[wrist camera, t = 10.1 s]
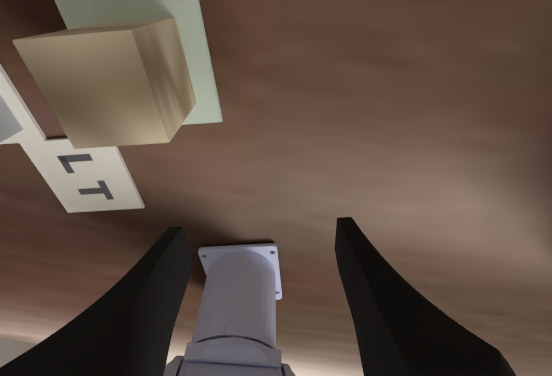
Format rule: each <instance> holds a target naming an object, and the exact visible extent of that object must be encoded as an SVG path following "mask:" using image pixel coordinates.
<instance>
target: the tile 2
mask: <svg viewBox="0 0 552 376" xmlns="http://www.w3.org/2000/svg"><path fill="white" fill-rule="evenodd" d="M20 145H21V146H22V148H23V149H24V151H25V152H26V153H27V155H28V156H29V158H30V159H31V161H32V162H33V163H34V165H35V166H36V168H37V169H38V171H39V172H40V173H41V175H42V176H43V178H44V179H45V181H46V182H47V183H48V185H49V186H50V188H51V189H52V191H53V192H54V193H55V195H56V196H57V198H58V199H59V201H60V202H61V203H62V205H63V206H64V208H65V209H66V211H67V212H68V213H73V212H89V211H106V210H123V209H139V208H144V207H145V205H144V203H143V200H142V198H141V196H140V194H139V192H138V190H137V188H136V185H135V183H134V181H133V179H132V177H131V175H130V173H129V170H128V168H127V166H126V164H125V162H124V160H123V158H122V155H121V153H120V151H119V149H118V147H117V146H112V147H98V148H84V149H74V147H73V146H72V144H71V142H70V141H69V139H68V138H58V139H47V140H46V141H38V142H24V143H20Z"/></svg>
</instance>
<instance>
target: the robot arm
mask: <svg viewBox="0 0 552 376" xmlns="http://www.w3.org/2000/svg"><path fill="white" fill-rule="evenodd" d="M335 253H336V259H337V264H338V269H339V273H340V276H341V280H342V283H343V287H344V290H345V293H346V297H347V300H348V304H349V307H350V310H351V314H352V318H353V322H354V326H355V331H356V336H357V341H358V346H359V351H360V357H361V362H362V367H363V373H364V376H516V374H515V373H514V371H513V370H512V368H511V367H510V365H509V364H508V362H507V361H506V360H505V358H504V357H503V356H502V354H501V353H500V351H499V350H497V349H496V348H494V347H493V346H491V345H490V344H488V343H487V342H485V341H484V340H482V339H481V338H479V337H477V336H476V335H474V334H473V333H471V332H470V331H468V330H467V329H465V328H464V327H462V326H461V325H460V324H458V323H457V322H455V321H454V320H453V319H451V318H450V317H448V316H447V315H446V314H445V313H443V312H442V311H441V310H440V309H438V308H437V307H436V306H435V305H433V304H432V303H431V302H429V301H428V300H427V299H426V298H425V297H423V296H422V295H421V294H420V293H419V292H418V291H416V290H415V289H414V288H413V287H412V286H411V285H410V284H409V283H408V282H407V281H405V280H404V279H403V278H402V277H401V276H400V275H399V274H398V273H397V272H396V271H395V270H394V269H393V268H392V267H391V266H390V264H389V263H388V262H387V261H386V260H385V259H384V258H383V257H382V256H381V255H380V253H379V252H378V251H377V250H376V249H375V247H374V246H373V245H372V244H371V243H370V241H369V240H368V239H367V238H366V236H365V235H364V234H363V232H362V231H361V230H360V228H359V227H358V226H357V224H356V223H355V221H354V220H353V219H352V218H351V217H344V218H337V227H336V239H335ZM198 254H199V257H200V259H201V262H202V265H203V268H204V270H205V273H206V276H207V278H206V282H205V286H204V291H203V295H202V299H201V303H200V308H199V312H198V316H197V320H196V325H195V329H194V333H193V337H192V342H191V343H187V347H186V351H185V355H184V356H176V357H175V358H174V359H173V360H172V361H171V362H170V363H169V364H167V366H166V360H167V355H168V350H169V346H170V341H171V336H172V332H173V328H174V325H175V321H176V318H177V315H178V312H179V309H180V305H181V302H182V299H183V296H184V293H185V290H186V287H187V283H188V280H189V277H190V272H191V267H192V261H193V254H192V251H191V248H190V246H189V243H188V241H187V238H186V235H185V233H184V230H183V228H182V227H169V228H168V230H167V231H166V232H165V233H164V234H163V235H162V236H161V237H160V238H159V239H158V241H157V242H156V243H155V244H154V245H153V246H152V247H151V248H150V250H149V251H148V252H147V253H146V254H145V255H144V256H143V257H142V258H141V259H140V260H139V261H138V262H137V264H136V265H135V266H134V267H133V268H132V269H131V270H130V271H129V272H128V273H127V274H126V275H125V276H124V277H123V278H122V279H121V280H120V281H119V282H117V283H116V284H115V285H114V286H113V287H112V288H111V289H110V290H109V291H108V292H106V293H105V294H104V295H103V296H102V297H101V298H100V299H98V300H97V301H96V302H95V303H94V304H92V305H91V306H90V307H89V308H87V309H86V310H85V311H83V312H82V313H81V314H80V315H78V316H77V317H76V318H74V319H73V320H72V321H70V322H69V323H68V324H66V325H65V326H64V327H62V328H61V329H59V330H58V331H57V332H55V333H54V334H52V335H51V336H49V337H48V338H46V339H45V340H43V341H42V342H40V343H39V344H37V345H36V346H34V347H33V348H31V349H30V350H28V351H27V352H25V353H23V354H22V355H20V356H19V357H17V358H15V359H14V360H12V361H10V362H9V363H7V364H6V365H4V366H2V367H1V368H0V376H295V374H294V373H293V372H292V370H291V368H290V366H289V365H288V364H282V363H281V350H277V349H276V300H279V299H281V298H282V290H281V280H280V270H279V261H278V251H277V245H276V244H274V243H267V244H249V245H230V246H212V247H201V248H199V250H198ZM165 366H166V367H165Z"/></svg>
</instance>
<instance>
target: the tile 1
mask: <svg viewBox="0 0 552 376" xmlns="http://www.w3.org/2000/svg"><path fill="white" fill-rule="evenodd" d="M0 95H1V97H2V98H3V100H4V101H5V103H6V104H7V106H8V107H9V109H10V110H11V112H12V113H13V115H14V116H15V118H16V119H17V121H18V122H19V124H20V125H21V127H22V128H23V130H22V131H20V132H18V133H17V134H15V135H13V136H11V137H9V138H8V139H6V140H4V141H2V142H0V144H10V143H24V142H38V141H46V140H47V138H46V136H45V134H44V133H43V131H42V130H41V128H40V126H39V125H38V123H37V122H36V120H35V118H34V117H33V115H32V114H31V112H30V110H29V109H28V107H27V106H26V104H25V102H24V101H23V99H22V98H21V96H20V94H19V93H18V91H17V90H16V88H15V86H14V85H13V83H12V82H11V80H10V78H9V77H8V75H7V74H6V72H5V70H4V69H3V67H2V66H1V64H0Z"/></svg>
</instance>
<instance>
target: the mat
mask: <svg viewBox="0 0 552 376" xmlns="http://www.w3.org/2000/svg"><path fill="white" fill-rule="evenodd" d="M54 1H55V3H56V5H57V7H58V9H59V12H60V14H61V16H62V18H63V20H64V22H65V25H66V27H67V29H72V28H78V27H83V26H88V25H95V24H106V23H117V22H128V21H139V20H150V19H161V18H172V17H175V18H176V22H177V26H178V30H179V34H180V38H181V42H182V46H183V50H184V54H185V58H186V62H187V66H188V70H189V74H190V78H191V82H192V86H193V90H194V94H195V98H196V102H197V103H196V104H195V106H194V107H193V109H192V110H191V112H190V113H189V115H188V116H187V118H186V119H185V120H184V122H183V123H182V125H185V124H199V123H212V122H222V121H223V119H222V114H221V109H220V104H219V99H218V94H217V89H216V84H215V79H214V74H213V69H212V64H211V59H210V54H209V49H208V44H207V39H206V34H205V29H204V24H203V19H202V14H201V9H200V3H199V0H54Z"/></svg>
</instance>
